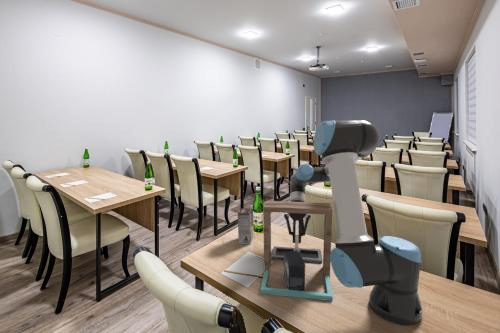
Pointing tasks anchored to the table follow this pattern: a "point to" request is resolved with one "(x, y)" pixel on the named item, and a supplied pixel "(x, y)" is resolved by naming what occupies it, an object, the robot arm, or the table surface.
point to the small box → (294, 270)
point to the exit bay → (294, 292)
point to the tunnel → (305, 209)
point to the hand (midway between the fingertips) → (296, 249)
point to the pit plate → (306, 254)
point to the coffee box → (245, 226)
